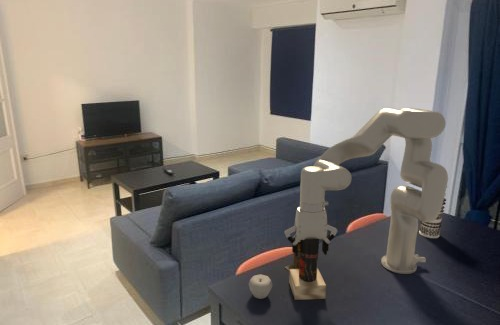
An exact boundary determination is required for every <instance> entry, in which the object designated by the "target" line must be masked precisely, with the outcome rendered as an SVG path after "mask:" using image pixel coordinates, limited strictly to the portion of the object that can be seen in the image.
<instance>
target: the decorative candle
mask: <svg viewBox="0 0 500 325" xmlns="http://www.w3.org/2000/svg"><path fill="white" fill-rule="evenodd" d="M447 188H448V186H447V187H446V189H447ZM446 194H447V193H446V192H445V195H444V199H443V204H442V207H441V211H440V213H439V215H438V217H437V218H436V219H435V220H434V221H432V222H424V221H421V220H419V221H420V224H419V227H418V232H419V235H421V236H422V237H424V238H429V239H438V238H439V237H440V234H441V227H442V219H443V218H442V214H444V212H445V210H444V209H445V206H444V205H446V201H447V198H445V197H446Z"/></svg>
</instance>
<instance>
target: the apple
mask: <svg viewBox="0 0 500 325" xmlns="http://www.w3.org/2000/svg"><path fill="white" fill-rule="evenodd" d="M248 287H249V290H250V292H251V294H252V295H253V297H254V298H256V299H258V300H259V299H260V300H262V299H265V298H267V297H268V295H269V293H270V292H271V290H272V287H273V283H272V279H271V278H270V277H269V276H268V275H264V274H261V273H260V274H256V275H253V276H252V277H251V278H250V279H249V281H248Z"/></svg>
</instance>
